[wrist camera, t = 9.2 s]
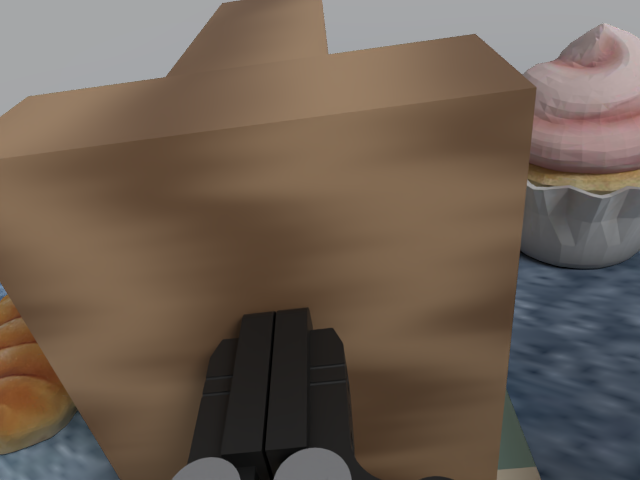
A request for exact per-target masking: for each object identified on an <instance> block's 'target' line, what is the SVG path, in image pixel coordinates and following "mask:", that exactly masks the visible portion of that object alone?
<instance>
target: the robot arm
mask: <svg viewBox="0 0 640 480" xmlns="http://www.w3.org/2000/svg"><path fill="white" fill-rule="evenodd" d="M202 394H203V397H202V398H201V402H200V407H199V411H198V416H197V421H196V425H195V430H194V435H193V439H192V444H191V449H190V453H189V458H188V461H187V464H186V466H185V467H184V468H182V469H181V470H180V471H179V472H178V473H177V474H176V475H175V476H174V477H173V479H172V480H381V479H379V478H377V477H375V476H373V475H371V474H370V473H368V472H367V471H366V470H365V469H363V468H362V467H361V465H360V464H359V463H358V462H357V460H356V458H355V447H354V434H353V421H352V410H351V396H350V386H349V379H348V372H347V365H346V358H345V351H344V345H343V342H342V341H341V339H340V338H339V336H338V335H337V333H336V332H335V330H334V329H333V328H325V329H315V330H313V326H312V320H311V315H310V310H309V307H306V308H296V309H287V310H278V311H277V312H276V311H270V312H261V313H252V314H244V315H243V317H242V322H241V328H240V334H239V338H232V339H223V340H222V341H221V342H220V344H219V345H218V347H217V348H216V350H215V351H214V352H213V354H212V355H211V357H210V360H209V364H208V369H207V374H206V381H205V383H204V388H203V392H202ZM419 480H454V479H451V478H447V477H442V476H431V477H425V478H422V479H419Z"/></svg>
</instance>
